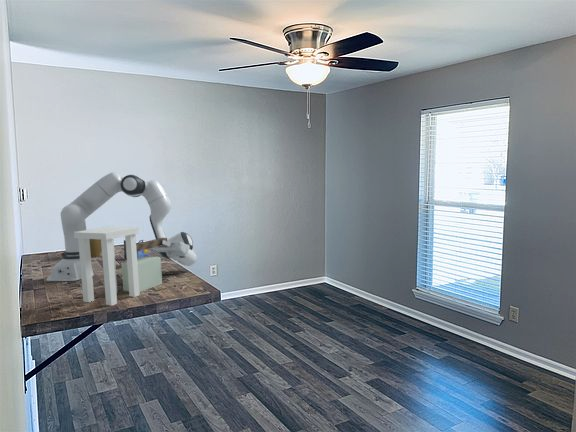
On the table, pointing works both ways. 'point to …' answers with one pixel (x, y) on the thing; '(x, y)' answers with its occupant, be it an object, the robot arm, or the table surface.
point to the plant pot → (95, 247)
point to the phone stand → (125, 250)
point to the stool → (108, 261)
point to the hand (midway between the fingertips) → (158, 241)
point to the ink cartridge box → (142, 252)
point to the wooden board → (149, 244)
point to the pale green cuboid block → (144, 273)
